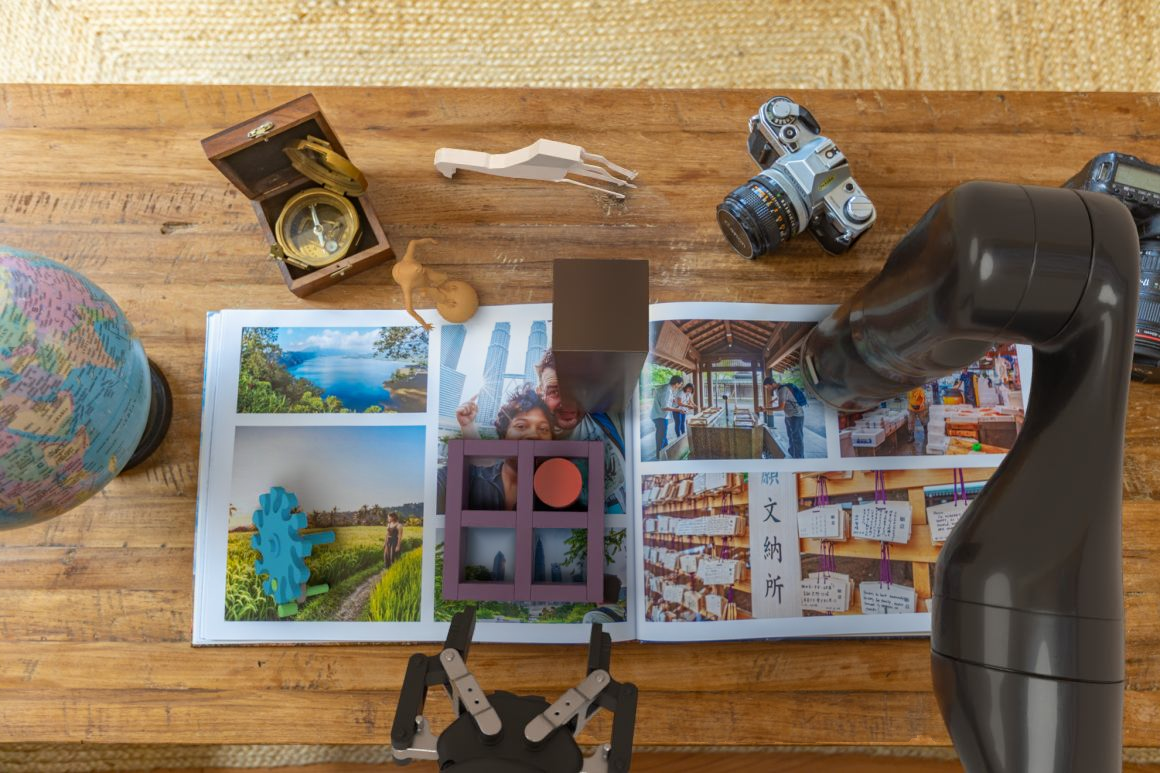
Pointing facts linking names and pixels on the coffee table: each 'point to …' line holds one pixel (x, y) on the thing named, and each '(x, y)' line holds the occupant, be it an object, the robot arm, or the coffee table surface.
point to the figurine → (434, 289)
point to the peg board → (521, 521)
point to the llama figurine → (532, 163)
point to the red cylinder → (558, 483)
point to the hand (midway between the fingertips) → (534, 621)
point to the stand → (599, 331)
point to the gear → (285, 550)
